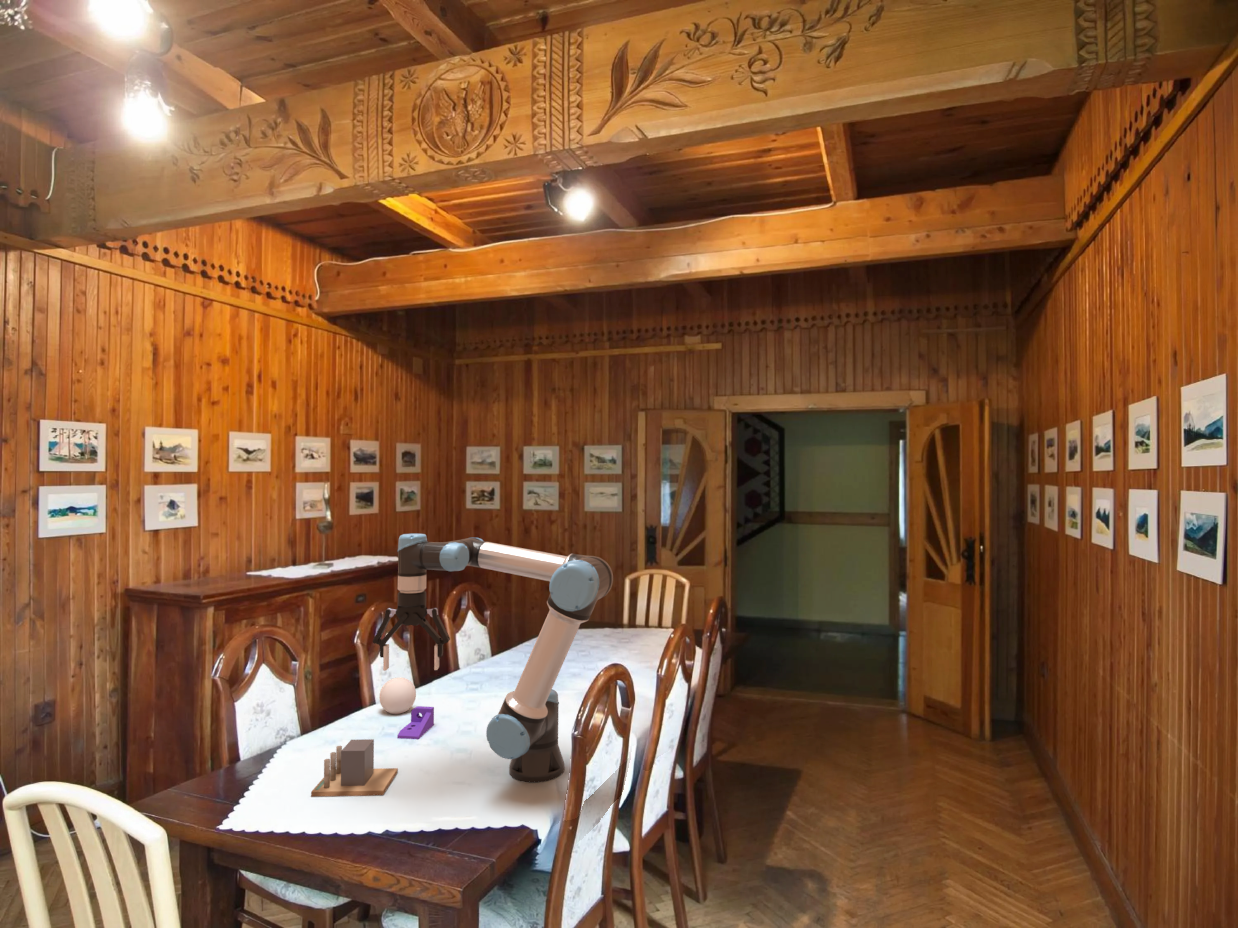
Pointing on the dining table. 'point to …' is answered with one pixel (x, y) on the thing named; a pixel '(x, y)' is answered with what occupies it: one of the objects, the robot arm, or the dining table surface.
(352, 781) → the block
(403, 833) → the dining table surface
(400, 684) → the decorative ball
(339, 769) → the board
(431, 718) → the bracket
